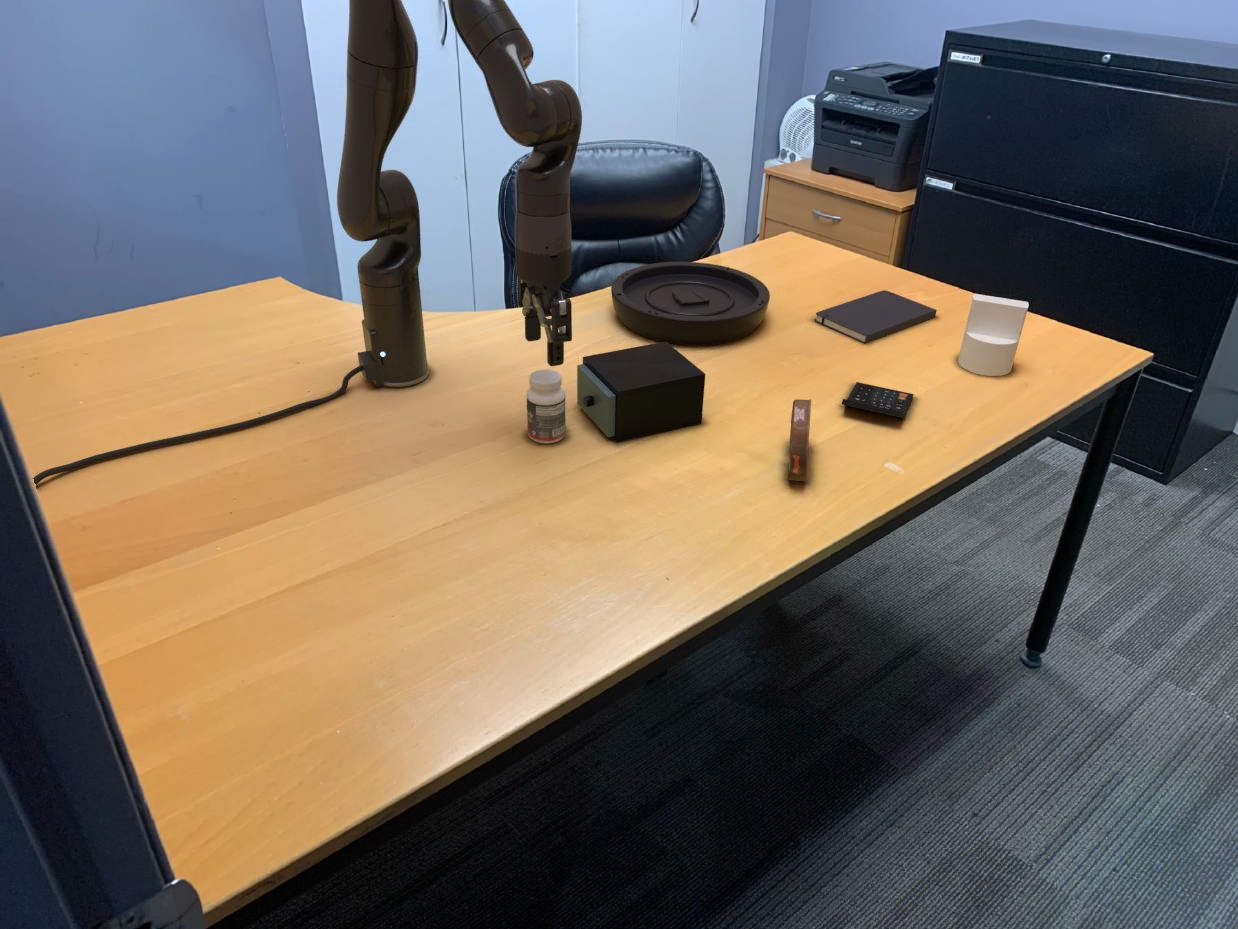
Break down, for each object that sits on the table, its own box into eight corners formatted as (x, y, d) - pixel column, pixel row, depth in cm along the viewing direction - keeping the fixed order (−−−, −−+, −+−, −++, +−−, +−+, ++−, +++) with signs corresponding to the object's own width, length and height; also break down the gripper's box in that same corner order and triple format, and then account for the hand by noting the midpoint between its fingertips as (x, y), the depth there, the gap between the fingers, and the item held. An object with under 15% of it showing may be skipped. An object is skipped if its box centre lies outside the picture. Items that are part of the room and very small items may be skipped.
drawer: (600, 439, 138) (601, 398, 134) (570, 405, 146) (569, 366, 142) (687, 419, 143) (689, 380, 139) (652, 388, 152) (654, 350, 148)
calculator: (912, 398, 153) (916, 382, 151) (899, 430, 144) (902, 413, 142) (855, 386, 156) (858, 370, 154) (839, 416, 147) (842, 399, 145)
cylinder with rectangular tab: (955, 370, 162) (971, 305, 156) (960, 350, 169) (975, 287, 163) (1010, 380, 159) (1028, 314, 153) (1012, 359, 166) (1029, 295, 160)
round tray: (729, 281, 195) (592, 294, 187) (732, 254, 192) (592, 266, 184) (793, 339, 171) (639, 357, 163) (797, 309, 168) (640, 326, 160)
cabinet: (616, 443, 138) (618, 391, 134) (582, 405, 148) (582, 356, 143) (701, 423, 144) (705, 373, 139) (663, 388, 154) (665, 341, 149)
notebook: (864, 343, 171) (935, 317, 182) (866, 335, 170) (936, 309, 181) (812, 320, 179) (883, 296, 190) (813, 312, 178) (884, 289, 189)
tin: (805, 493, 128) (813, 441, 124) (782, 490, 129) (789, 438, 124) (808, 439, 141) (816, 389, 136) (787, 436, 141) (794, 387, 137)
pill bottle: (527, 426, 142) (525, 367, 137) (565, 425, 143) (564, 366, 137) (527, 445, 137) (525, 385, 132) (566, 444, 138) (565, 384, 132)
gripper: (498, 228, 128) (502, 336, 137) (536, 263, 117) (538, 378, 126) (549, 222, 131) (549, 328, 140) (590, 256, 120) (588, 368, 129)
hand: (544, 352), depth 133 cm, fingers open, 8 cm apart
